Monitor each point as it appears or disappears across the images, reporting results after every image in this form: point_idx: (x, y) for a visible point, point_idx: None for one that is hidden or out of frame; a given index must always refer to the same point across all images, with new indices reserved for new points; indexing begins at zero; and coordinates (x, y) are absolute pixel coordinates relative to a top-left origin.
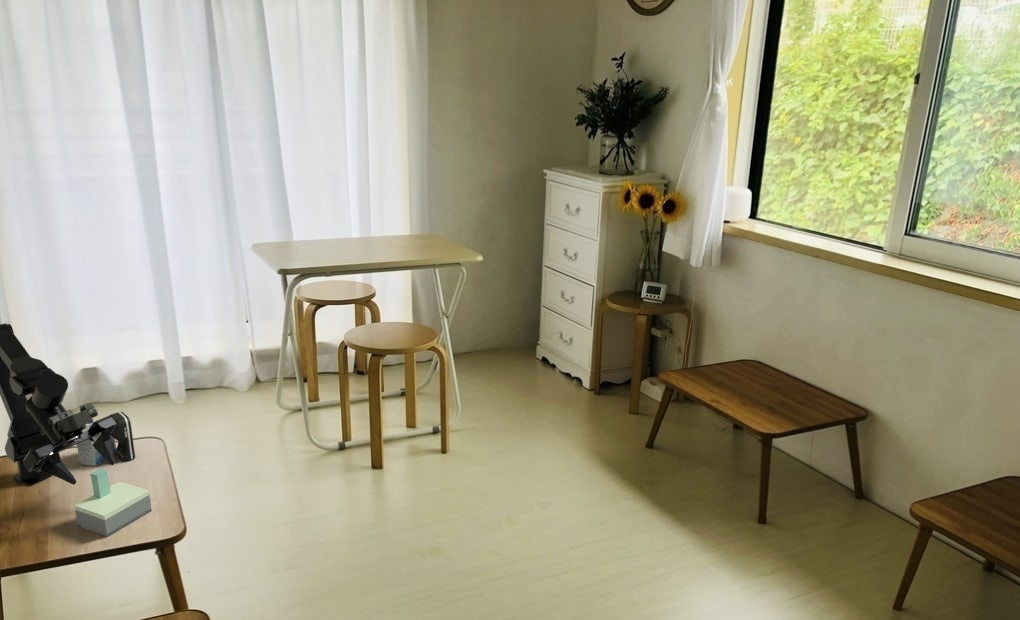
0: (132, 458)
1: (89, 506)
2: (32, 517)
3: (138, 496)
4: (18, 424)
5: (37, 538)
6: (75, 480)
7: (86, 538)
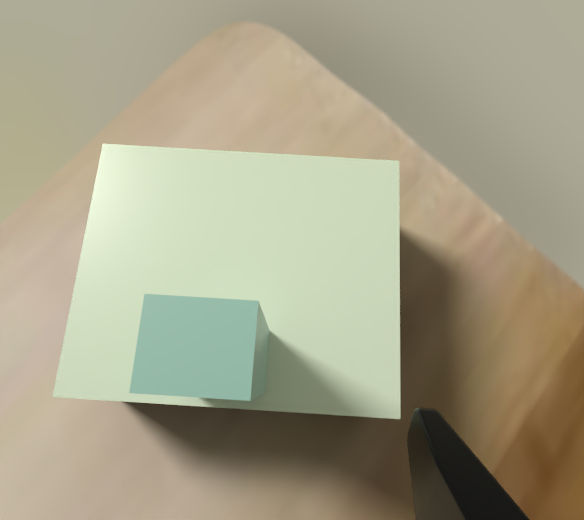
0: None
1: (366, 315)
2: None
3: (174, 148)
4: None
5: (532, 508)
6: (427, 413)
7: (420, 285)
